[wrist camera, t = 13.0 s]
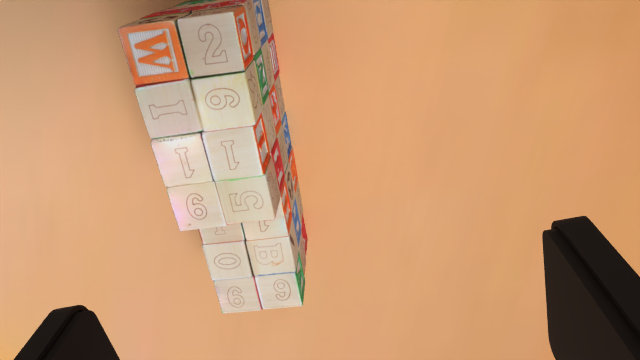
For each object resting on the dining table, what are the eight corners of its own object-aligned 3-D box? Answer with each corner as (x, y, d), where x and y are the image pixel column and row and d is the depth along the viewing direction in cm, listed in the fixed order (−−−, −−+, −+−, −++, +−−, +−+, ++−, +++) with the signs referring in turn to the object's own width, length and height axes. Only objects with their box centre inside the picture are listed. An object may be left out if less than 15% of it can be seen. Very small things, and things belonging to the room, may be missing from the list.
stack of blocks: (310, 239, 45) (300, 337, 34) (241, 246, 46) (210, 345, 35) (266, -13, 36) (233, 9, 25) (182, -1, 37) (113, 27, 26)
